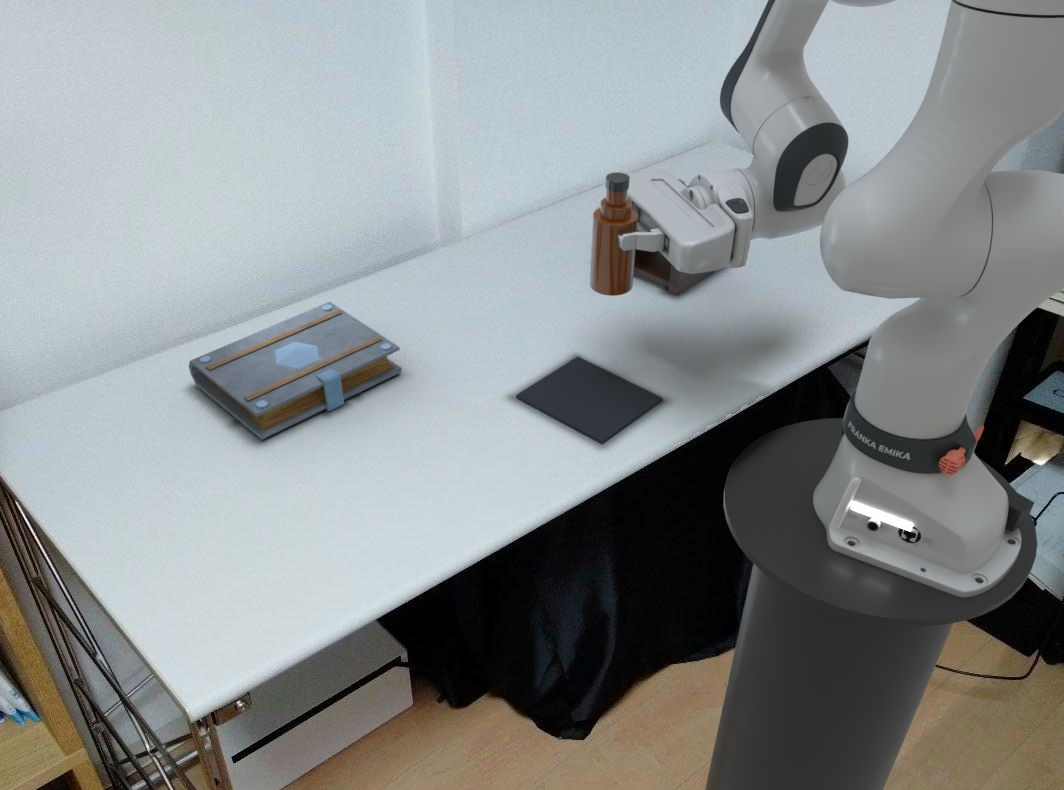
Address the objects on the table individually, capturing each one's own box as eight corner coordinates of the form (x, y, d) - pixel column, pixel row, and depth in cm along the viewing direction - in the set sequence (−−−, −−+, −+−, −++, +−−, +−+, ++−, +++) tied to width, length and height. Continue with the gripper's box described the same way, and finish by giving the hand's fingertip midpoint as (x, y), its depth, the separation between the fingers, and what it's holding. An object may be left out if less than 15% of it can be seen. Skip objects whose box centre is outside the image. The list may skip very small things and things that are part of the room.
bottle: (641, 284, 126) (650, 176, 117) (614, 300, 123) (621, 191, 114) (608, 270, 129) (614, 163, 119) (581, 285, 126) (585, 177, 117)
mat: (662, 400, 130) (663, 398, 129) (602, 444, 123) (602, 441, 123) (577, 358, 136) (577, 356, 136) (515, 397, 130) (515, 395, 130)
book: (329, 325, 142) (325, 293, 139) (403, 375, 133) (400, 342, 130) (193, 385, 132) (184, 351, 128) (264, 444, 123) (256, 409, 120)
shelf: (724, 265, 155) (731, 221, 150) (676, 295, 148) (682, 250, 143) (649, 235, 162) (653, 192, 157) (601, 263, 155) (603, 219, 150)
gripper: (678, 152, 129) (575, 168, 126) (759, 222, 115) (646, 242, 112) (673, 200, 133) (573, 217, 130) (751, 273, 119) (642, 294, 116)
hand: (607, 229), depth 121 cm, fingers closed on bottle, 5 cm apart
